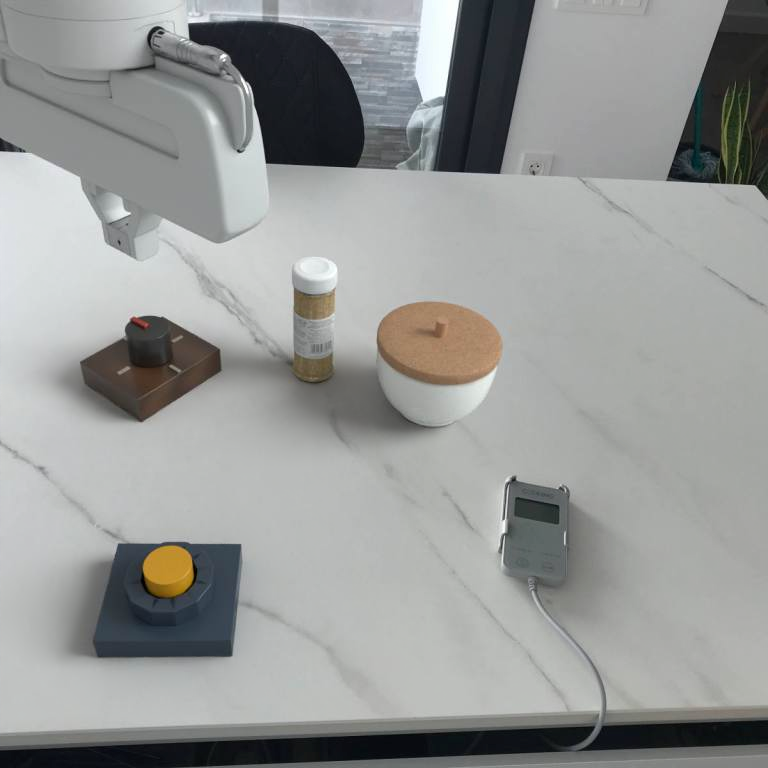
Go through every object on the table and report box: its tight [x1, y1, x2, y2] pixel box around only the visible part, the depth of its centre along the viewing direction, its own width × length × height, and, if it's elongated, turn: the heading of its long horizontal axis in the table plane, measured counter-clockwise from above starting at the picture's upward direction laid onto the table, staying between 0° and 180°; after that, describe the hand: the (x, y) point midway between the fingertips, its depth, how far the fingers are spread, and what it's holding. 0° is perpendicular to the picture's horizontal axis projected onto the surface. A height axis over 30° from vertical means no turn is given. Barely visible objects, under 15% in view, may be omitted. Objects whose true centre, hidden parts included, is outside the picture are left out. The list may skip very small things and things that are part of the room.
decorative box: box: [376, 301, 503, 428], centre depth 80 cm, size 13×13×11 cm
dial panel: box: [79, 315, 222, 423], centre depth 82 cm, size 11×9×3 cm
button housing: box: [92, 541, 243, 658], centre depth 61 cm, size 10×9×4 cm
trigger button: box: [143, 546, 194, 598], centre depth 59 cm, size 4×4×2 cm
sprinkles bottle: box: [291, 256, 338, 383], centre depth 82 cm, size 5×5×14 cm
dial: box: [124, 314, 173, 367], centre depth 80 cm, size 4×4×4 cm
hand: (132, 250), depth 48 cm, fingers closed
